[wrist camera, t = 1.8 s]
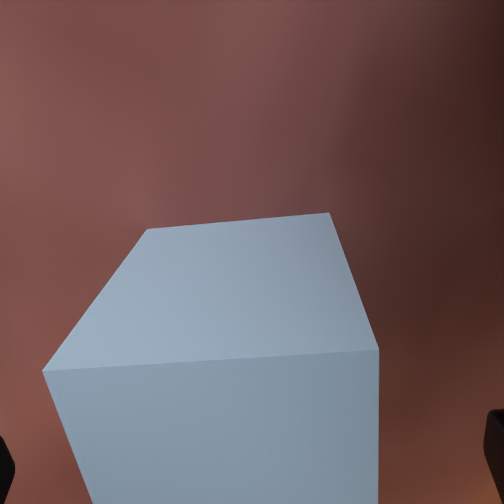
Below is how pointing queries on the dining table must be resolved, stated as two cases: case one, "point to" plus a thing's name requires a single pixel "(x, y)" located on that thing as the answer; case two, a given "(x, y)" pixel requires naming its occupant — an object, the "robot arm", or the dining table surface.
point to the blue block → (225, 371)
